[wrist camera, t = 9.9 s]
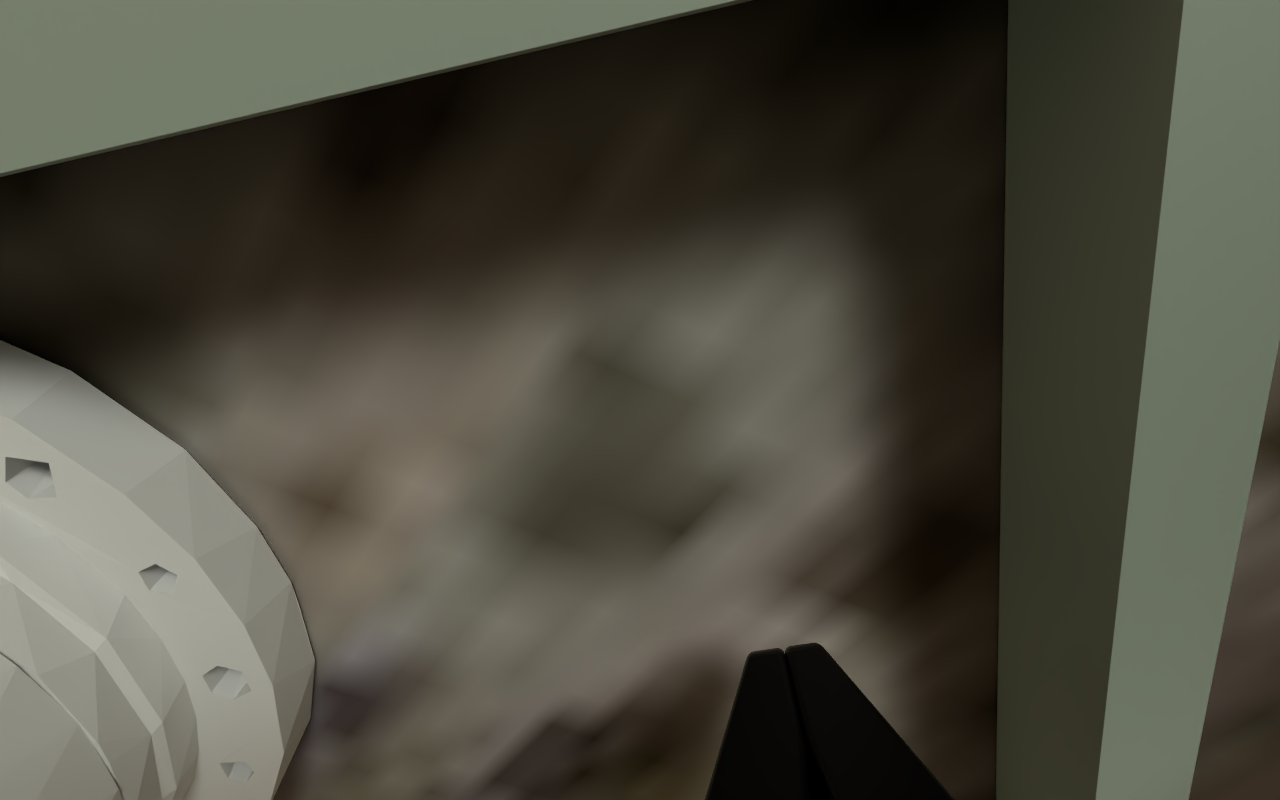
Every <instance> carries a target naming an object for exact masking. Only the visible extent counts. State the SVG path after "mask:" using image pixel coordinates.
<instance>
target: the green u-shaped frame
mask: <svg viewBox="0 0 1280 800" xmlns="http://www.w3.org/2000/svg"><path fill="white" fill-rule="evenodd" d="M748 1H752V0H0V177H3V176H7V175H11V174H16V173H20V172H24V171H28V170H33V169H37V168H41V167H46V166H50V165H54V164H58V163H63V162H67V161H71V160H75V159H80V158H84V157H88V156H92V155H97V154H101V153H105V152H109V151H114V150H118V149H122V148H126V147H131V146H135V145H139V144H143V143H148V142H152V141H156V140H161V139H165V138H169V137H173V136H178V135H182V134H186V133H190V132H195V131H199V130H203V129H207V128H212V127H216V126H220V125H224V124H229V123H233V122H237V121H241V120H246V119H250V118H254V117H258V116H263V115H267V114H271V113H275V112H280V111H284V110H288V109H293V108H297V107H301V106H305V105H310V104H314V103H318V102H322V101H327V100H331V99H335V98H339V97H344V96H348V95H352V94H356V93H361V92H365V91H369V90H373V89H378V88H382V87H386V86H390V85H395V84H399V83H403V82H407V81H412V80H416V79H420V78H425V77H429V76H433V75H437V74H442V73H446V72H450V71H454V70H459V69H463V68H467V67H471V66H476V65H480V64H484V63H488V62H493V61H497V60H501V59H505V58H510V57H514V56H518V55H522V54H527V53H531V52H535V51H539V50H544V49H548V48H552V47H557V46H561V45H565V44H569V43H574V42H578V41H582V40H586V39H591V38H595V37H599V36H603V35H608V34H612V33H616V32H620V31H625V30H629V29H633V28H637V27H642V26H646V25H650V24H654V23H659V22H663V21H667V20H671V19H676V18H680V17H684V16H689V15H693V14H697V13H701V12H706V11H710V10H714V9H718V8H723V7H727V6H731V5H735V4H740V3H744V2H748ZM1279 342H1280V0H1008V57H1007V121H1006V185H1005V249H1004V313H1003V377H1002V441H1001V505H1000V569H999V633H998V697H997V760H996V800H1189V795H1190V790H1191V785H1192V780H1193V775H1194V770H1195V765H1196V760H1197V755H1198V750H1199V745H1200V740H1201V735H1202V730H1203V725H1204V720H1205V715H1206V710H1207V704H1208V699H1209V694H1210V689H1211V684H1212V679H1213V674H1214V669H1215V664H1216V659H1217V654H1218V649H1219V644H1220V639H1221V634H1222V629H1223V624H1224V619H1225V614H1226V609H1227V604H1228V599H1229V594H1230V589H1231V584H1232V579H1233V574H1234V569H1235V564H1236V558H1237V553H1238V548H1239V543H1240V538H1241V533H1242V528H1243V523H1244V518H1245V513H1246V508H1247V503H1248V498H1249V493H1250V488H1251V483H1252V478H1253V473H1254V468H1255V463H1256V458H1257V453H1258V448H1259V443H1260V438H1261V433H1262V428H1263V423H1264V418H1265V413H1266V407H1267V402H1268V397H1269V392H1270V387H1271V382H1272V377H1273V372H1274V367H1275V362H1276V357H1277V352H1278V347H1279Z"/></svg>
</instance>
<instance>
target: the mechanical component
mask: <svg viewBox="0 0 1280 800" xmlns="http://www.w3.org/2000/svg"><path fill="white" fill-rule="evenodd" d="M314 668H315V658H314V655H313V652H312V648H311V645H310V641H309V638H308V634H307V631H306V628H305V624H304V621H303V617H302V614H301V610H300V607H299V604H298V601H297V598H296V595H295V592H294V589H293V586H292V583H291V581H290V580H289V578H288V576H287V575H286V573H285V572H284V570H283V568H282V567H281V565H280V563H279V562H278V560H277V559H276V557H275V555H274V554H273V552H272V551H271V549H270V547H269V546H268V544H267V542H266V541H265V539H264V538H263V536H262V534H261V533H260V531H259V530H258V528H257V526H256V525H255V524H254V523H253V522H252V521H251V520H250V519H249V518H248V517H247V516H246V515H245V514H244V512H243V511H242V510H241V509H240V508H239V507H238V506H237V505H236V504H235V503H234V502H233V501H232V500H231V498H230V497H229V496H228V495H227V494H226V493H225V492H224V491H223V490H222V489H221V488H220V487H219V486H218V485H217V483H216V482H215V481H214V480H213V479H212V478H211V477H210V476H209V475H208V474H207V473H206V472H205V471H204V469H203V468H202V467H201V466H200V465H199V464H198V463H197V462H196V461H195V460H194V459H193V458H192V457H191V455H190V454H189V453H188V452H187V451H186V450H185V449H183V448H182V447H181V446H179V445H178V444H176V443H175V442H173V441H172V440H170V439H169V438H168V437H166V436H165V435H163V434H162V433H160V432H159V431H157V430H156V429H155V428H153V427H152V426H150V425H149V424H147V423H146V422H144V421H143V420H142V419H140V418H139V417H137V416H136V415H134V414H133V413H131V412H130V411H129V410H127V409H126V408H124V407H123V406H121V405H120V404H118V403H117V402H115V401H114V400H113V399H111V398H110V397H108V396H107V395H105V394H104V393H102V392H101V391H100V390H98V389H97V388H95V387H94V386H92V385H91V384H89V383H88V382H87V381H85V380H84V379H82V378H81V377H79V376H78V375H76V374H75V373H74V372H72V371H70V370H68V369H66V368H63V367H61V366H59V365H56V364H54V363H52V362H50V361H47V360H45V359H43V358H40V357H38V356H36V355H33V354H31V353H29V352H26V351H24V350H22V349H20V348H17V347H15V346H13V345H10V344H8V343H6V342H3V341H1V340H0V800H273V798H274V796H275V794H276V792H277V789H278V787H279V785H280V783H281V781H282V779H283V777H284V774H285V772H286V770H287V768H288V766H289V764H290V762H291V759H292V757H293V755H294V753H295V751H296V749H297V746H298V744H299V742H300V740H301V738H302V736H303V734H304V731H305V729H306V727H307V725H308V723H309V721H310V717H311V705H312V693H313V680H314Z"/></svg>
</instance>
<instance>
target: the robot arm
mask: <svg viewBox="0 0 1280 800" xmlns="http://www.w3.org/2000/svg"><path fill="white" fill-rule="evenodd" d="M705 800H954V799H953V797H952V796H951V795H950V794H949V793H948V792H947V790H946V789H945V788H944V787H943V786H942V785H941V783H940V782H939V781H938V780H937V779H936V778H935V776H934V775H933V774H932V773H931V772H930V771H929V769H928V768H927V767H926V766H925V765H924V764H923V762H922V761H921V760H920V759H919V758H918V757H917V756H916V754H915V753H914V752H913V751H912V750H911V749H910V747H909V746H908V745H907V744H906V743H905V742H904V740H903V739H902V738H901V737H900V736H899V735H898V733H897V732H896V731H895V730H894V729H893V728H892V726H891V725H890V724H889V723H888V722H887V721H886V719H885V718H884V717H883V716H882V715H881V714H880V713H879V711H878V710H877V709H876V708H875V707H874V706H873V704H872V703H871V702H870V701H869V700H868V699H867V697H866V696H865V695H864V694H863V693H862V692H861V690H860V689H859V688H858V687H857V686H856V685H855V683H854V682H853V681H852V680H851V679H850V678H849V677H848V675H847V674H846V673H845V672H844V671H843V670H842V668H841V667H840V666H839V665H838V664H837V663H836V661H835V660H834V659H833V658H832V657H831V656H830V654H829V653H828V652H827V651H826V650H825V649H824V648H823V647H822V646H821V645H820V644H818V643H809V644H802V645H795V646H789V647H788V648H786V650H785V654H784V652H783V650H782V649H780V648H774V649H767V650H760V651H754V652H751V653H750V654H749V655H748V657H747V659H746V662H745V666H744V669H743V672H742V676H741V679H740V683H739V686H738V689H737V693H736V696H735V700H734V703H733V706H732V710H731V713H730V717H729V720H728V723H727V727H726V730H725V734H724V737H723V740H722V744H721V747H720V751H719V754H718V757H717V761H716V764H715V768H714V771H713V774H712V778H711V781H710V785H709V788H708V791H707V795H706V798H705Z"/></svg>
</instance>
